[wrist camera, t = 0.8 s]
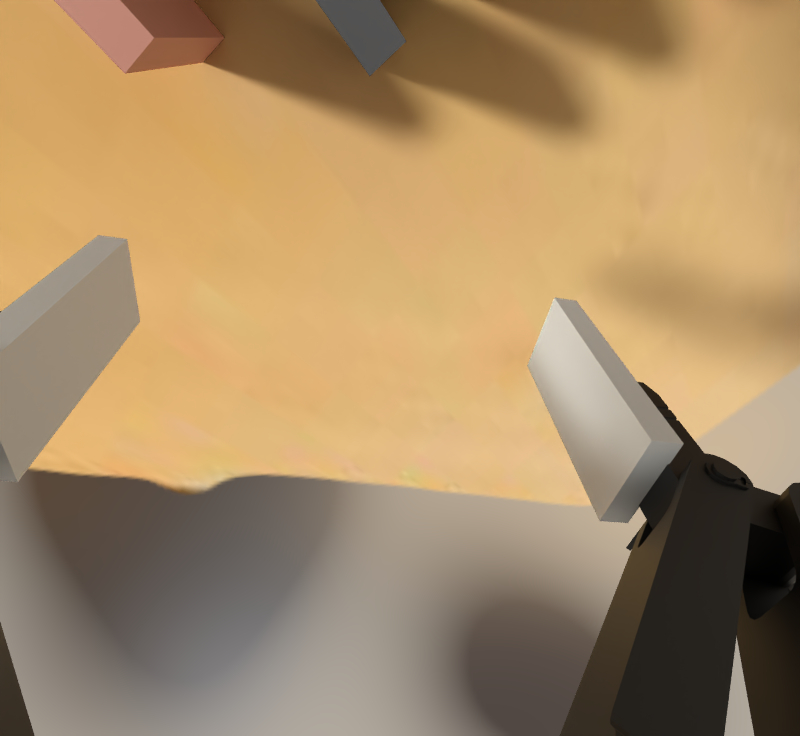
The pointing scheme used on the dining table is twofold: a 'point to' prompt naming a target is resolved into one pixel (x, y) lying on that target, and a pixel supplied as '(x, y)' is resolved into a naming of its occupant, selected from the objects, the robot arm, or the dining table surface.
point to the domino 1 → (146, 31)
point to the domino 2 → (365, 29)
